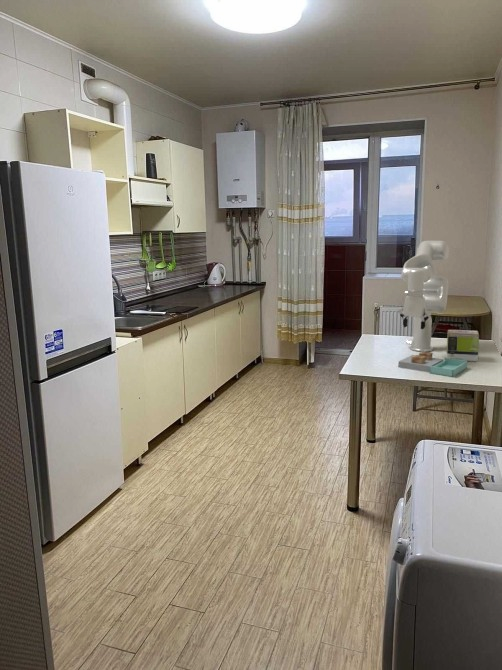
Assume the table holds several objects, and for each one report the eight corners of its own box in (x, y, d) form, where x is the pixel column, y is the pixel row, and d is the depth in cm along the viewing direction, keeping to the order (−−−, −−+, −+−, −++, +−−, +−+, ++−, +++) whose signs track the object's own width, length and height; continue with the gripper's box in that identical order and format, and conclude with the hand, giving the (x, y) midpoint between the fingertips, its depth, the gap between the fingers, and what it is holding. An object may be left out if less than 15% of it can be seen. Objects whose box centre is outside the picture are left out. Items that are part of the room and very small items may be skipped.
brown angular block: (418, 358, 261) (419, 353, 261) (422, 357, 265) (422, 351, 264) (428, 360, 258) (428, 354, 258) (432, 358, 262) (432, 352, 261)
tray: (429, 373, 246) (429, 366, 246) (444, 364, 261) (445, 357, 260) (452, 377, 239) (453, 369, 239) (467, 368, 254) (467, 361, 253)
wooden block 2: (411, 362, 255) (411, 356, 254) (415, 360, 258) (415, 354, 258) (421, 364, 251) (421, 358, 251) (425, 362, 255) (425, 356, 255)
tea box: (476, 357, 274) (478, 330, 271) (477, 362, 265) (479, 333, 262) (446, 355, 279) (447, 328, 276) (446, 360, 270) (448, 332, 267)
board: (398, 367, 258) (398, 361, 257) (412, 360, 271) (412, 354, 270) (429, 372, 248) (430, 366, 247) (442, 365, 260) (443, 359, 260)
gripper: (396, 293, 262) (394, 327, 266) (429, 296, 251) (427, 331, 255) (402, 292, 268) (400, 325, 271) (435, 294, 257) (433, 328, 260)
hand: (413, 327), depth 263 cm, fingers open, 8 cm apart
